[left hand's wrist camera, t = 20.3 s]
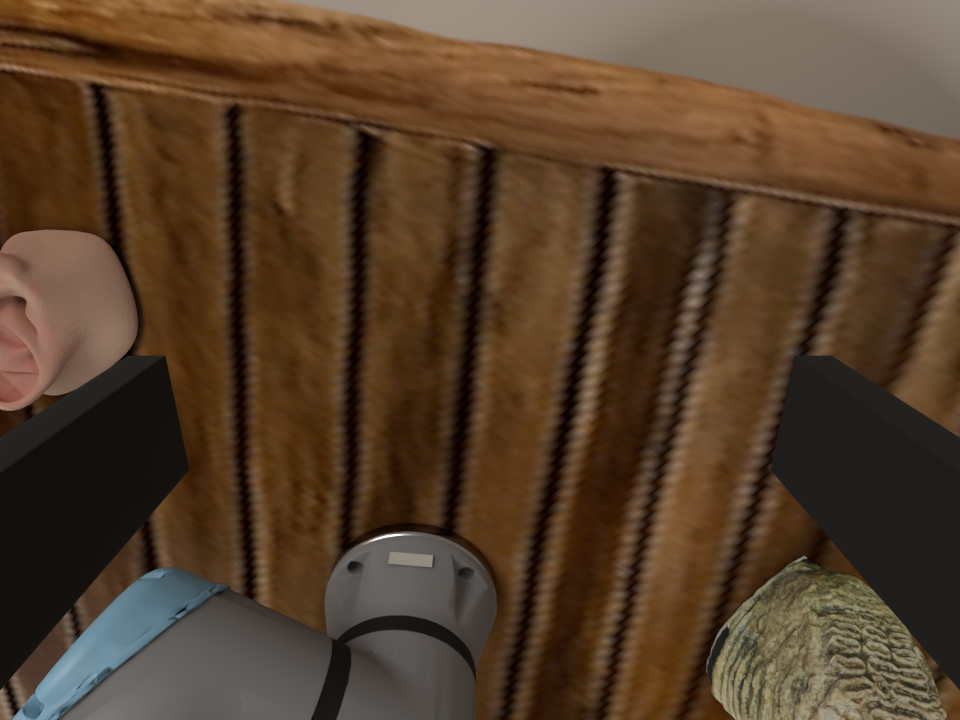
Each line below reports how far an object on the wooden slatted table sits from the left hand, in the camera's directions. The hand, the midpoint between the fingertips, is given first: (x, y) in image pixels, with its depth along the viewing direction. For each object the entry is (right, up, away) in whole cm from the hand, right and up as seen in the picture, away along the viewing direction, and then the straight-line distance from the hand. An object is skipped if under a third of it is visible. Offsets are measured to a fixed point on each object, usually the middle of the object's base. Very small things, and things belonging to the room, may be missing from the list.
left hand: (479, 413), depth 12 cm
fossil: (+27, -23, +42) cm, 55 cm away
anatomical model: (-31, +5, +31) cm, 45 cm away
